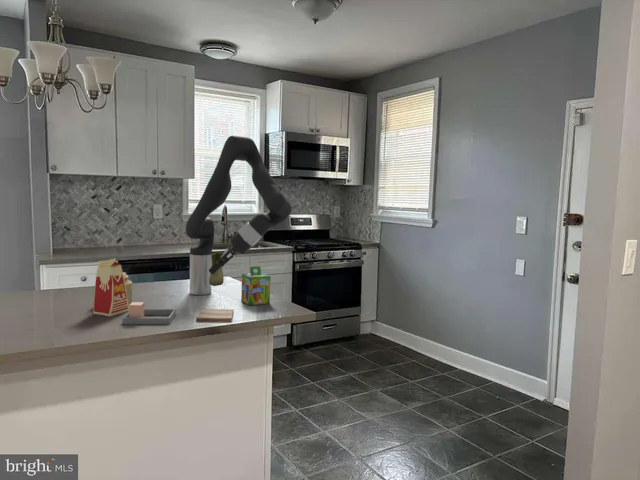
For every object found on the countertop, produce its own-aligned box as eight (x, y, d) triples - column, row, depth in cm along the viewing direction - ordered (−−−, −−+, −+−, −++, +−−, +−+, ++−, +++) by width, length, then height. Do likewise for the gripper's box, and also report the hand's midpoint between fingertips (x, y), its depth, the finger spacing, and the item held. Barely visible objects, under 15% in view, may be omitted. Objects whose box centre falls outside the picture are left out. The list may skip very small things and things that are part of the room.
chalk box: (249, 306, 186) (250, 269, 184) (240, 301, 193) (241, 265, 192) (270, 303, 191) (271, 268, 189) (260, 299, 198) (261, 264, 197)
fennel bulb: (220, 283, 171) (220, 250, 170) (227, 285, 167) (227, 252, 166) (205, 285, 167) (206, 252, 166) (212, 287, 163) (212, 253, 162)
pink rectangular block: (132, 319, 162) (132, 302, 161) (144, 319, 162) (144, 302, 162) (129, 322, 158) (129, 305, 157) (141, 322, 159) (141, 305, 158)
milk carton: (129, 310, 172) (129, 256, 170) (110, 316, 164) (110, 260, 162) (109, 307, 175) (109, 254, 173) (90, 313, 167) (89, 258, 165)
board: (200, 312, 174) (200, 309, 174) (233, 312, 175) (233, 309, 175) (196, 321, 162) (196, 318, 162) (231, 321, 163) (231, 318, 163)
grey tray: (132, 314, 168) (132, 308, 167) (175, 314, 170) (175, 309, 169) (122, 323, 156) (122, 318, 156) (169, 324, 158) (169, 318, 158)
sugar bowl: (97, 299, 186) (97, 262, 185) (127, 297, 192) (127, 261, 191) (103, 308, 174) (103, 268, 172) (135, 305, 180) (135, 267, 178)
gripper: (239, 228, 173) (206, 260, 173) (237, 232, 159) (201, 266, 159) (253, 243, 175) (220, 274, 174) (252, 248, 160) (217, 282, 160)
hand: (211, 270), depth 167 cm, fingers closed on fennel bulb, 5 cm apart
